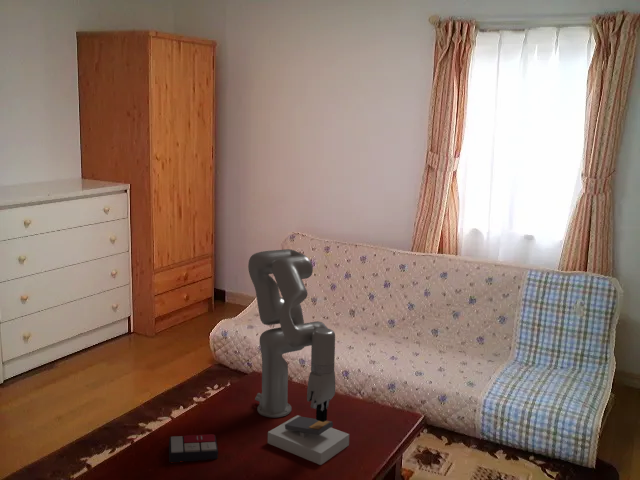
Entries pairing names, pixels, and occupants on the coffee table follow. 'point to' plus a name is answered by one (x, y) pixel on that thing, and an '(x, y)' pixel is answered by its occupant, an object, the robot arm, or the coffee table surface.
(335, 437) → the switch box
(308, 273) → the robot arm
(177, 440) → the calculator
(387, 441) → the coffee table surface
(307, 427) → the rocker switch
